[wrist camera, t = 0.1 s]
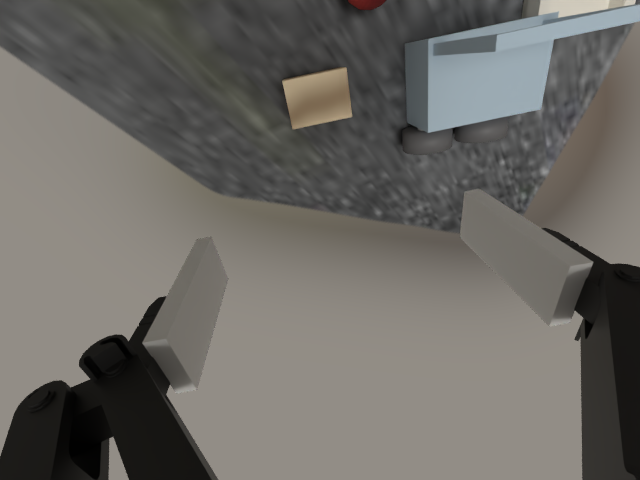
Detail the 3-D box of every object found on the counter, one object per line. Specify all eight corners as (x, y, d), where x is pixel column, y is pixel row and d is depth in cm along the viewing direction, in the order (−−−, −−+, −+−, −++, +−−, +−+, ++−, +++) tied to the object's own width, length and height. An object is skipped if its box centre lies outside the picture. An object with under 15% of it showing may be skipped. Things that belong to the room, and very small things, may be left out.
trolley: (392, 46, 35) (469, 32, 20) (512, 20, 35) (680, -13, 20) (396, 147, 42) (458, 194, 27) (499, 126, 41) (620, 160, 26)
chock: (282, 79, 36) (282, 81, 32) (339, 67, 36) (346, 67, 32) (292, 122, 39) (292, 129, 35) (345, 111, 39) (352, 116, 34)
